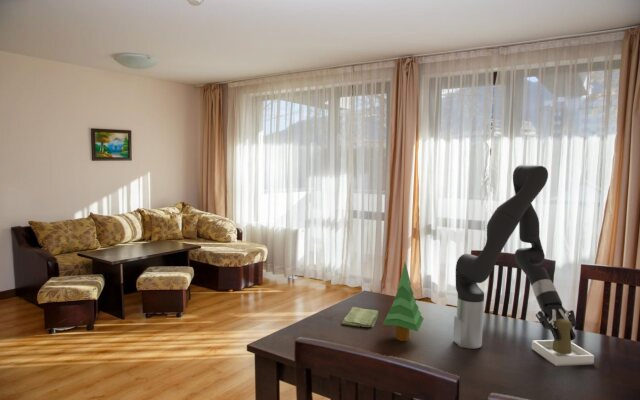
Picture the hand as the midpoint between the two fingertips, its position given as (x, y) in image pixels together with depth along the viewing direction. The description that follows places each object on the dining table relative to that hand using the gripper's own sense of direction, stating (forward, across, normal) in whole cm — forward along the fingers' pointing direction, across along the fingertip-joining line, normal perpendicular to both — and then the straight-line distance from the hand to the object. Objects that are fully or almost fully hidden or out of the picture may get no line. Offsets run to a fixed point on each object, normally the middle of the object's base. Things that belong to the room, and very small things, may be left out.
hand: (566, 339), depth 152 cm
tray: (+4, 0, +6) cm, 7 cm away
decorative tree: (-10, -51, +20) cm, 56 cm away
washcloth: (-24, -62, +35) cm, 76 cm away
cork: (+2, 0, +5) cm, 5 cm away
